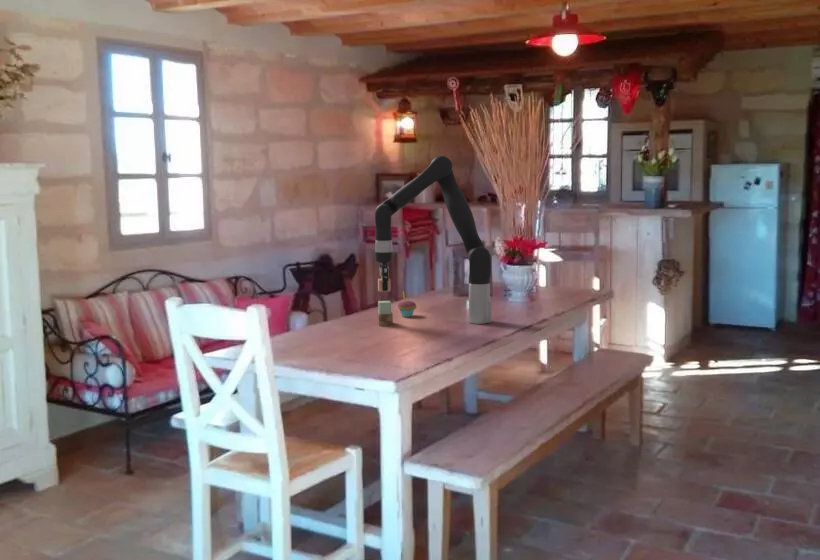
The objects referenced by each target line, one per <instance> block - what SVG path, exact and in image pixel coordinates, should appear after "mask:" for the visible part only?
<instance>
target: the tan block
mask: <svg viewBox="0 0 820 560" xmlns="http://www.w3.org/2000/svg"><path fill="white" fill-rule="evenodd" d="M388 279H389V280H388V290H387V291H383V290H382V279H380V278H377V291H378V292H379V293H384V292H385V293H386V292H387V293H388V292H391V290H392V288H391V285H392V284H391V281H392V280H391V278H390V277H388Z"/></svg>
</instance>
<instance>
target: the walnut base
mask: <svg viewBox="0 0 820 560" xmlns="http://www.w3.org/2000/svg"><path fill="white" fill-rule="evenodd" d="M393 317H394V315H393V312H392V311H391V314H379V313H378V312H377V324H378V326H381V327H382V326H383V327H384V326H393V325H394V322H393V321H394V318H393Z"/></svg>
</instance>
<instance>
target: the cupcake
mask: <svg viewBox="0 0 820 560" xmlns="http://www.w3.org/2000/svg"><path fill="white" fill-rule="evenodd" d="M402 297H403V300H402V301H401V302H399V303H398V304H397V309H398V310H399V311H400V314H401V317H402V318H403V317H404V318H411V317H413V315H414V312H415V310H416V309H417V304H416V303H415V302H414V301H412V300H406V295H405V291H402ZM410 316H411V317H410Z"/></svg>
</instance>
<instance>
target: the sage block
mask: <svg viewBox="0 0 820 560" xmlns="http://www.w3.org/2000/svg"><path fill="white" fill-rule="evenodd" d="M377 309H378V311H377V314H378V313H379V314H391V312H392V302H391V301H390V300H378V301H377Z"/></svg>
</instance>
